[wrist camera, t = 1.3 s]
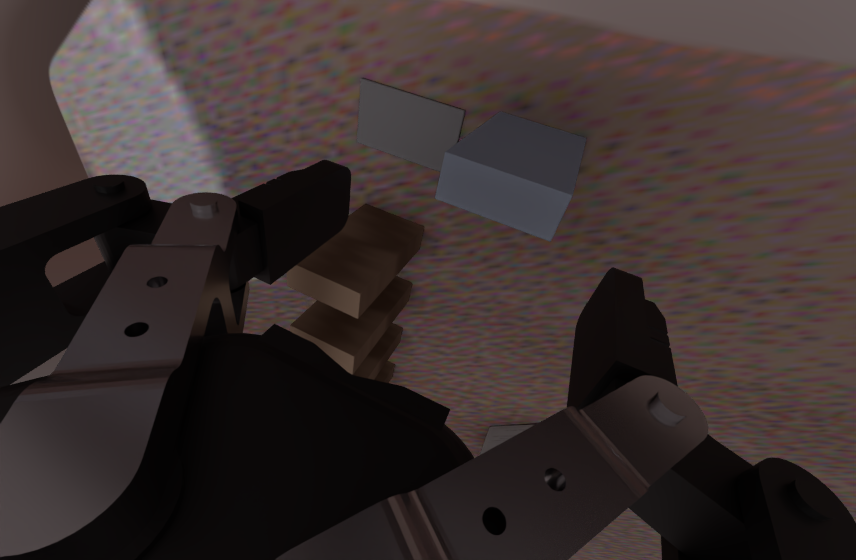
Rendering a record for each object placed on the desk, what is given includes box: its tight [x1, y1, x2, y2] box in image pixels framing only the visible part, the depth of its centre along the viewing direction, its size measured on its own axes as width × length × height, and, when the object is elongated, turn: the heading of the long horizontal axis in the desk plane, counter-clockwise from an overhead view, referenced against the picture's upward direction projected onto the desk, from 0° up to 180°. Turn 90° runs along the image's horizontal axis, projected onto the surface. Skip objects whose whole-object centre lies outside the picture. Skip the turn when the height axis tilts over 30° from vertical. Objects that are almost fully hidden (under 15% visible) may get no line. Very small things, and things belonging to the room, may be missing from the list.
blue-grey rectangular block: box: [435, 111, 587, 242], centre depth 18 cm, size 5×2×9 cm, turn 78°
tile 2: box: [287, 204, 424, 319], centre depth 25 cm, size 5×2×9 cm, turn 77°
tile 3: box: [290, 276, 412, 375], centre depth 28 cm, size 5×2×9 cm, turn 78°
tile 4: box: [353, 323, 403, 380], centre depth 32 cm, size 5×2×9 cm, turn 78°
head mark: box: [357, 78, 466, 172], centre depth 23 cm, size 7×4×1 cm, turn 77°
